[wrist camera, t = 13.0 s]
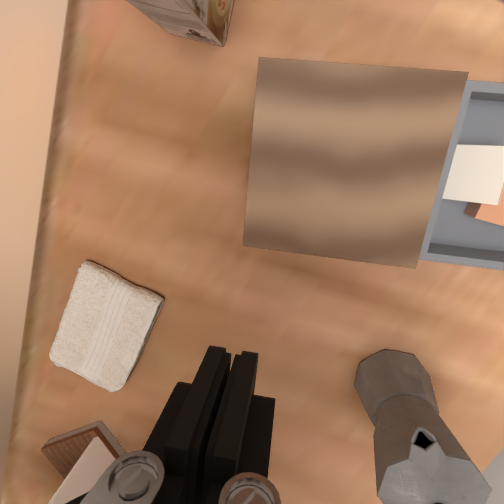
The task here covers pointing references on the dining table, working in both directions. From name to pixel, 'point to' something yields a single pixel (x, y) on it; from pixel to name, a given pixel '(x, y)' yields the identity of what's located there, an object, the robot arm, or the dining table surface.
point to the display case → (81, 459)
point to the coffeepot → (414, 436)
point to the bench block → (347, 158)
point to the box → (451, 211)
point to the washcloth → (104, 326)
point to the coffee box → (190, 17)
